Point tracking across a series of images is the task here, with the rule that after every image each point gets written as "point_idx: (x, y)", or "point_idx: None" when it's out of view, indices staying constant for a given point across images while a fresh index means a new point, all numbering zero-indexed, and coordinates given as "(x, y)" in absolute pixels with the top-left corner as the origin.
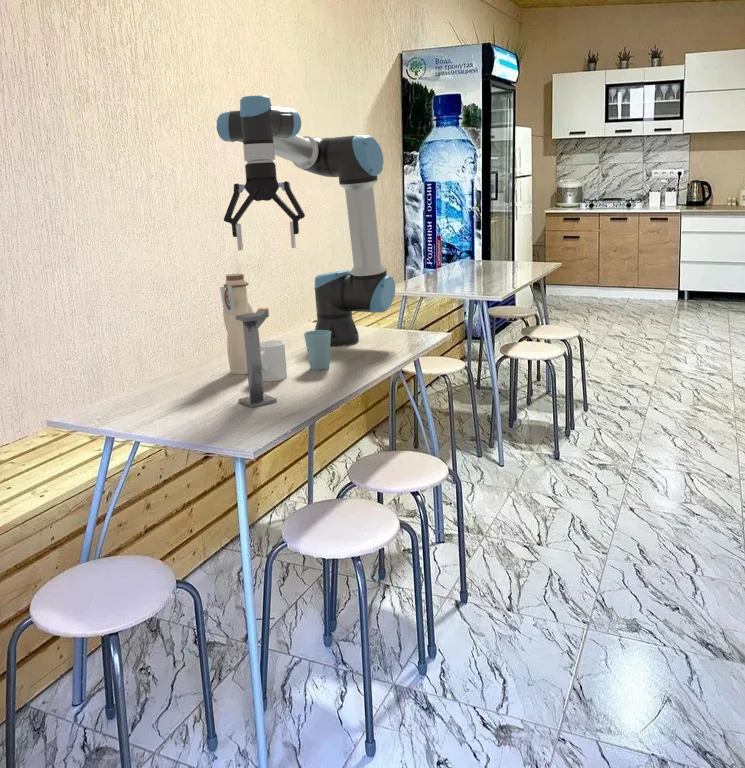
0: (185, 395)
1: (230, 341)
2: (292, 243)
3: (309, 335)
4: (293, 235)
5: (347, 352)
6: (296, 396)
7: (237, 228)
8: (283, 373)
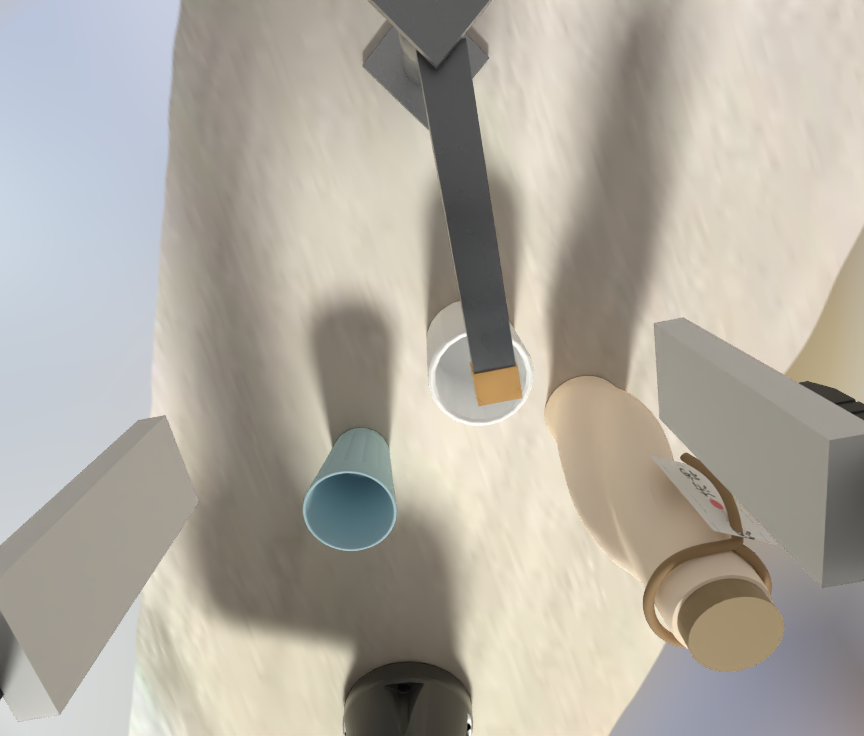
0: (688, 132)
1: (638, 403)
2: (133, 436)
3: (364, 473)
4: (71, 483)
5: (337, 609)
6: (322, 136)
7: (812, 405)
8: (429, 332)
